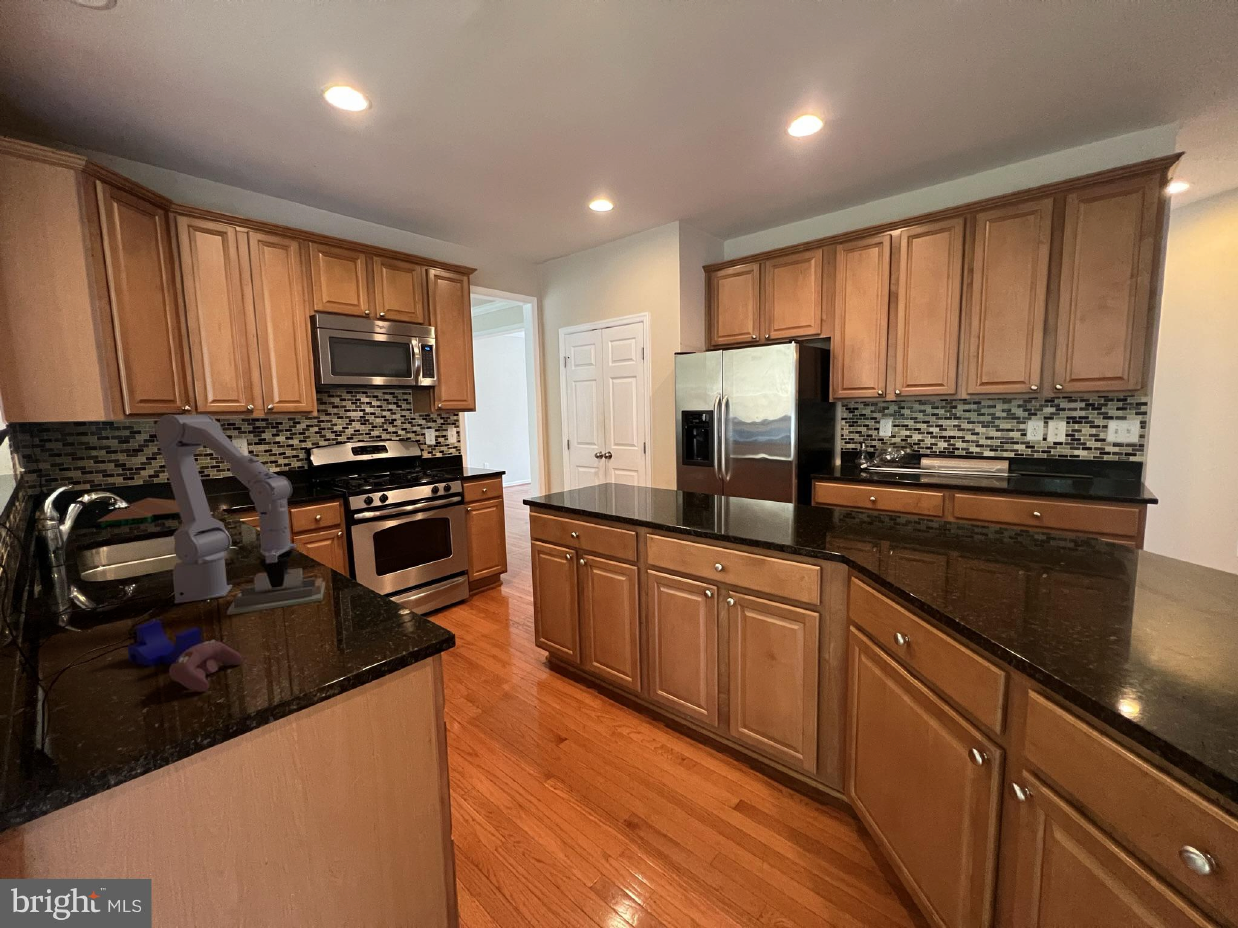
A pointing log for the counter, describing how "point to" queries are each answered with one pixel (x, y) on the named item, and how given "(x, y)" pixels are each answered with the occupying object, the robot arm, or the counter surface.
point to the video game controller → (202, 664)
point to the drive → (291, 581)
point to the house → (142, 511)
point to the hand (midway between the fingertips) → (278, 583)
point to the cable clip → (160, 644)
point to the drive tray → (277, 597)
